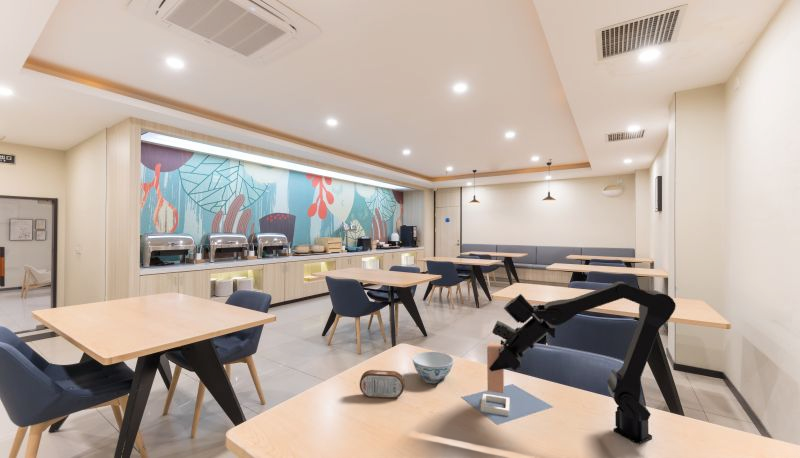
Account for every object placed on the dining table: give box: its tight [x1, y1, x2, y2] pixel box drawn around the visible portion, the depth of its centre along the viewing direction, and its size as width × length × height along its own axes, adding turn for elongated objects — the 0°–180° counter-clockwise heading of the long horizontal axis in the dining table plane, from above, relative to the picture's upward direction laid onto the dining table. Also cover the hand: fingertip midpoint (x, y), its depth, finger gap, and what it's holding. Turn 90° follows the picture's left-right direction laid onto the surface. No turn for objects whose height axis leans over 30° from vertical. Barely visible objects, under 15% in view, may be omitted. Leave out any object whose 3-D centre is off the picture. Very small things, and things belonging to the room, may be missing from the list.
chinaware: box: [412, 351, 454, 384], centre depth 122 cm, size 15×15×8 cm
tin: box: [359, 369, 406, 400], centre depth 109 cm, size 15×3×8 cm, turn 84°
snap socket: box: [481, 394, 510, 416], centre depth 100 cm, size 8×8×2 cm
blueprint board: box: [460, 383, 554, 426], centre depth 103 cm, size 17×22×1 cm
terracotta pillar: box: [486, 343, 505, 393], centre depth 101 cm, size 4×4×13 cm
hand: (491, 366), depth 101 cm, fingers closed on terracotta pillar, 4 cm apart
